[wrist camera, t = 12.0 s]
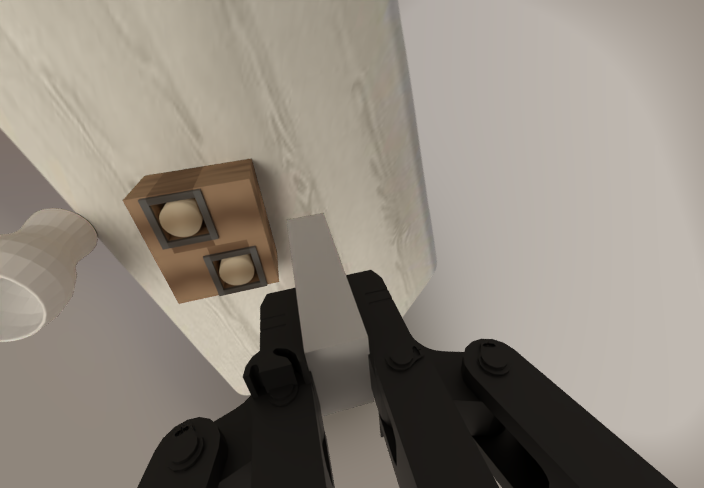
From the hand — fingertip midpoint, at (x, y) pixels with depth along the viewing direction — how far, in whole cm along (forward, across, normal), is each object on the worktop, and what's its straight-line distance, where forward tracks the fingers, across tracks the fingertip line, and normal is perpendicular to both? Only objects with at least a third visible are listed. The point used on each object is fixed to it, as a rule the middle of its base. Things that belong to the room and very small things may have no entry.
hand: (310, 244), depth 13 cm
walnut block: (+34, -12, -14) cm, 39 cm away
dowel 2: (+34, -10, -18) cm, 40 cm away
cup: (+35, -32, -12) cm, 49 cm away
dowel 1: (+34, -14, -10) cm, 38 cm away
